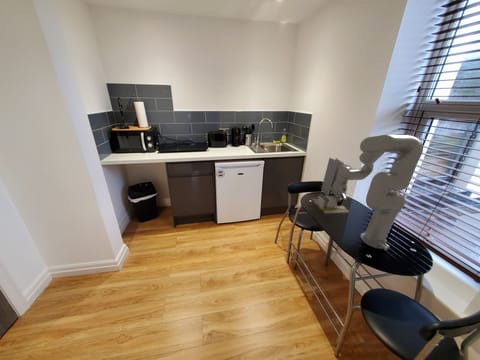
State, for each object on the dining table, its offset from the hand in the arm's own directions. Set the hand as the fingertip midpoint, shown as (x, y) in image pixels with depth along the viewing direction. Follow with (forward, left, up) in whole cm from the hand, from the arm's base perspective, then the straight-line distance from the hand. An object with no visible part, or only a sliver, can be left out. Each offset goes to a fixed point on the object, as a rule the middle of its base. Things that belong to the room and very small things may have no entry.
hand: (334, 202), depth 141 cm
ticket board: (0, +4, -3) cm, 5 cm away
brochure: (+20, -7, -4) cm, 21 cm away
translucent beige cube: (0, 0, -2) cm, 2 cm away
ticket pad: (0, +8, -2) cm, 9 cm away
